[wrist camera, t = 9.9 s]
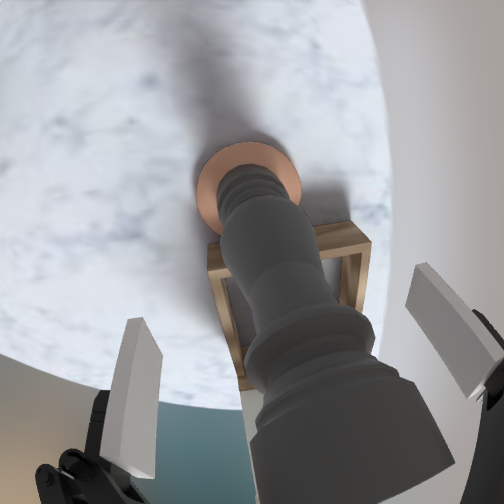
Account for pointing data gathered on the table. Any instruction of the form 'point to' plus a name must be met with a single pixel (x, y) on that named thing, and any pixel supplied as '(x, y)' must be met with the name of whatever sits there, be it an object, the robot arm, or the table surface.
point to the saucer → (233, 158)
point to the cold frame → (330, 246)
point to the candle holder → (316, 365)
